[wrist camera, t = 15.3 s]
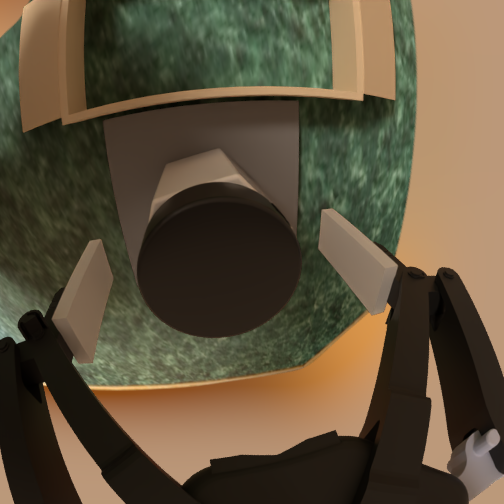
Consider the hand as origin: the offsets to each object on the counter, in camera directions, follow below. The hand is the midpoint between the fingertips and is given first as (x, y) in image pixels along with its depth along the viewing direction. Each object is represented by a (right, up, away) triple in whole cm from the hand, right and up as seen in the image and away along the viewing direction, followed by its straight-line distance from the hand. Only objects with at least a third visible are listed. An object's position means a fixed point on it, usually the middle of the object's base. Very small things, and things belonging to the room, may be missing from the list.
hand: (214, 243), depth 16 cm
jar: (-2, +4, +8) cm, 9 cm away
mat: (-2, +4, +8) cm, 9 cm away
